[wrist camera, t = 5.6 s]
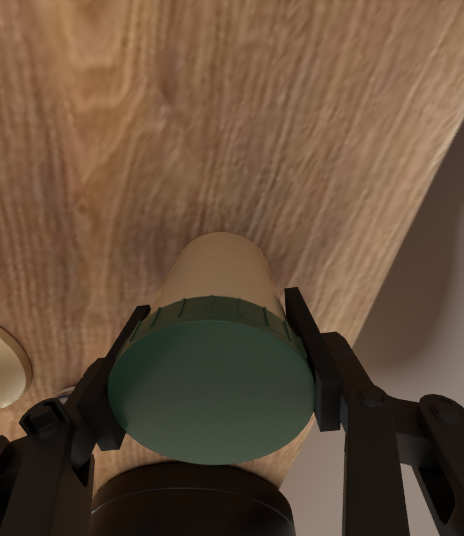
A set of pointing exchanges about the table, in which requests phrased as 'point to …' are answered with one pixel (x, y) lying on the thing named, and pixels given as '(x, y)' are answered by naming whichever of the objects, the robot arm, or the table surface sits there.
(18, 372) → the coaster
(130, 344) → the lid
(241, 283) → the jar
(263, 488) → the container
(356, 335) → the table surface
